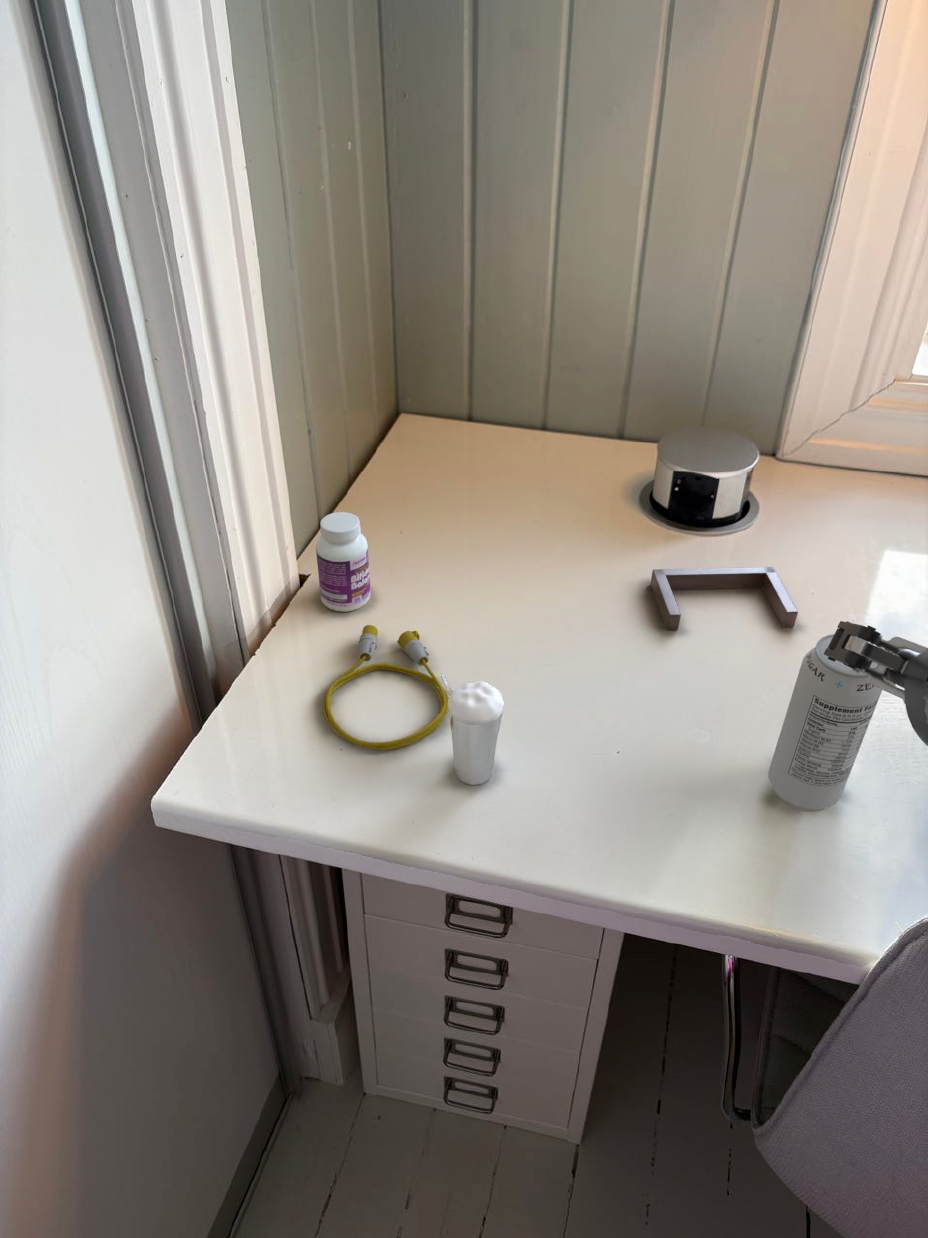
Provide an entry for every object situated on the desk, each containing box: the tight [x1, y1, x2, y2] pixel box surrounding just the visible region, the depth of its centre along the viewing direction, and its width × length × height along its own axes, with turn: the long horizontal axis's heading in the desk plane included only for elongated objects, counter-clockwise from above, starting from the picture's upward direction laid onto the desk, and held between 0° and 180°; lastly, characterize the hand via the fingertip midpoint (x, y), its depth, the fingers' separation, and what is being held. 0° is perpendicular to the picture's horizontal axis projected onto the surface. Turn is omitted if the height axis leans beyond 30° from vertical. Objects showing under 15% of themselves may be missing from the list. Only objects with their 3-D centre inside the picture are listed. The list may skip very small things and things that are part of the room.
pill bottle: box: [315, 511, 371, 613], centre depth 97 cm, size 5×5×10 cm
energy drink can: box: [767, 633, 883, 813], centre depth 74 cm, size 6×6×15 cm
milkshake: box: [440, 672, 505, 786], centre depth 77 cm, size 4×5×10 cm
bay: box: [649, 566, 799, 631], centre depth 99 cm, size 8×13×2 cm, turn 93°
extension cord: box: [322, 624, 449, 751], centre depth 87 cm, size 12×16×2 cm
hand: (916, 679), depth 64 cm, fingers open, 8 cm apart
